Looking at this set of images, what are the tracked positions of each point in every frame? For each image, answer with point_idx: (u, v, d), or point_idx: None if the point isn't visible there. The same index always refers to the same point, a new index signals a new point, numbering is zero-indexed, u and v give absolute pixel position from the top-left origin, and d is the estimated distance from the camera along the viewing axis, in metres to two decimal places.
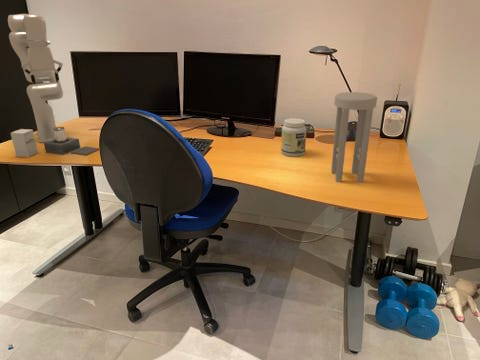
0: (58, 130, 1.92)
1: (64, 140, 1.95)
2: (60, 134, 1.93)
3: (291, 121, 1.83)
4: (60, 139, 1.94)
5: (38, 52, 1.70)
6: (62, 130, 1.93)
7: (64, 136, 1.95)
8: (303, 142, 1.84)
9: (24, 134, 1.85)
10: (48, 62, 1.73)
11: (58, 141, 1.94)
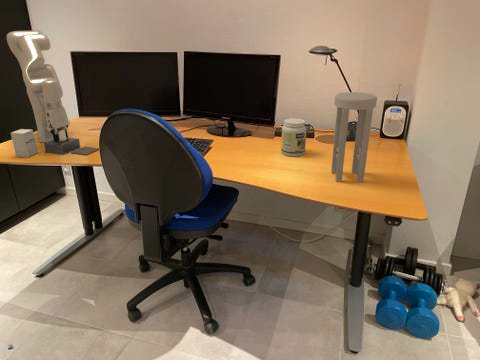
0: (58, 130, 1.92)
1: (64, 140, 1.95)
2: (60, 134, 1.93)
3: (291, 121, 1.83)
4: (60, 139, 1.94)
5: None
6: (62, 130, 1.93)
7: (64, 136, 1.95)
8: (303, 142, 1.84)
9: (24, 134, 1.85)
10: None
11: None
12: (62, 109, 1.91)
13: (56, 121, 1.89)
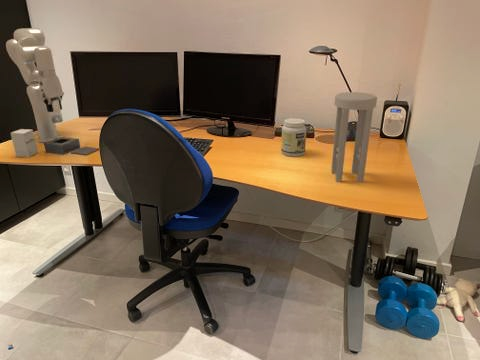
0: (52, 100, 1.86)
1: (58, 111, 1.89)
2: (54, 104, 1.87)
3: (291, 121, 1.83)
4: (54, 110, 1.88)
5: None
6: (56, 100, 1.87)
7: (58, 107, 1.89)
8: (303, 142, 1.84)
9: (24, 134, 1.85)
10: None
11: (52, 112, 1.88)
12: (56, 78, 1.85)
13: (49, 90, 1.82)
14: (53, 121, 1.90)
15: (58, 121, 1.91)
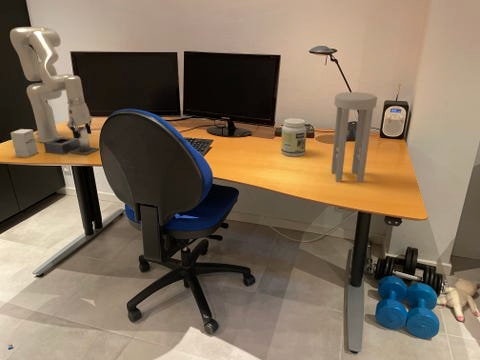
0: (80, 130, 1.89)
1: (86, 140, 1.93)
2: (82, 134, 1.90)
3: (291, 121, 1.83)
4: (82, 139, 1.91)
5: None
6: (84, 130, 1.90)
7: (86, 136, 1.92)
8: (303, 142, 1.84)
9: (24, 134, 1.85)
10: None
11: (80, 141, 1.91)
12: (84, 106, 1.88)
13: (79, 118, 1.85)
14: (81, 150, 1.93)
15: (87, 149, 1.94)
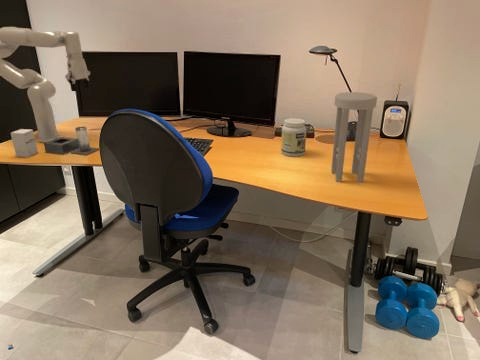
0: (80, 130, 1.89)
1: (86, 140, 1.93)
2: (82, 134, 1.90)
3: (291, 121, 1.83)
4: (82, 139, 1.91)
5: None
6: (84, 130, 1.90)
7: (86, 136, 1.92)
8: (303, 142, 1.84)
9: (24, 134, 1.85)
10: None
11: (80, 141, 1.91)
12: (82, 61, 2.00)
13: (77, 72, 1.97)
14: (81, 150, 1.93)
15: (87, 149, 1.94)
